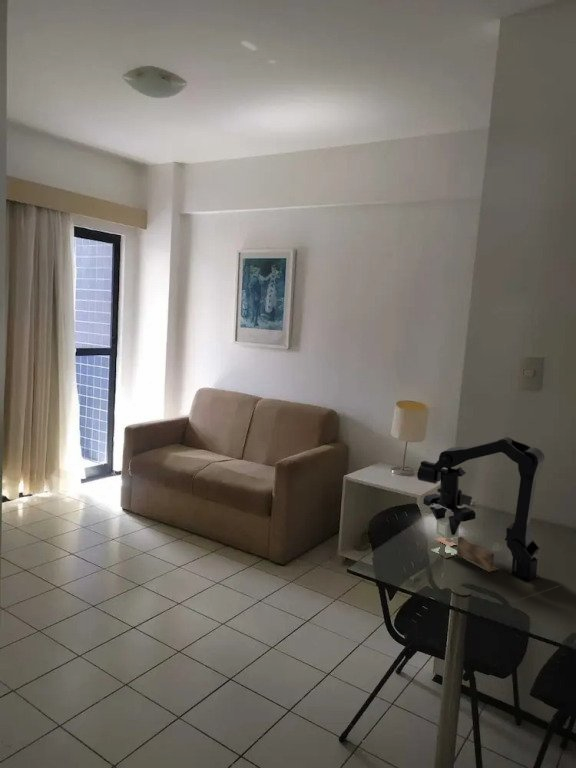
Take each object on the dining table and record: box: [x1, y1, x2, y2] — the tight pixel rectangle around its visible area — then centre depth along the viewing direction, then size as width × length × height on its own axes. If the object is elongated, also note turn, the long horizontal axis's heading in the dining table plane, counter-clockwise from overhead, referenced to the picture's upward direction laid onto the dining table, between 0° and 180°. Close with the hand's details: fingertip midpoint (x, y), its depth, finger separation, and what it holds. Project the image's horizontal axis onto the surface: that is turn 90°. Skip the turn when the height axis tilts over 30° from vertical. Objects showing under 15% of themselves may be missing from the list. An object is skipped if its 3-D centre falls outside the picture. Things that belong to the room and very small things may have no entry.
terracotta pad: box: [434, 536, 457, 547], centre depth 200 cm, size 7×7×1 cm
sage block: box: [435, 516, 460, 539], centre depth 190 cm, size 5×5×5 cm
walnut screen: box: [456, 536, 499, 572], centre depth 184 cm, size 14×4×6 cm, turn 28°
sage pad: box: [431, 545, 457, 555], centre depth 191 cm, size 7×7×1 cm
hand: (447, 531), depth 190 cm, fingers closed on sage block, 5 cm apart
